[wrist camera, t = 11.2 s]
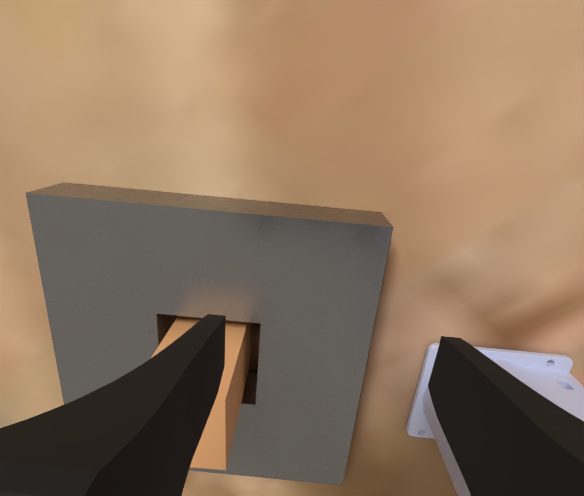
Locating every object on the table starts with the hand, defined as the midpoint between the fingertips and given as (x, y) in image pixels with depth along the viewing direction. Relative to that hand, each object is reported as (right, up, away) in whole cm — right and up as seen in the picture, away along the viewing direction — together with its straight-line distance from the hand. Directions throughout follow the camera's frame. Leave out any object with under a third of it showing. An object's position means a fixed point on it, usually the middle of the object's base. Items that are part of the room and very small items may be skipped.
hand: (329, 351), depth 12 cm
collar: (-6, -2, +12) cm, 14 cm away
